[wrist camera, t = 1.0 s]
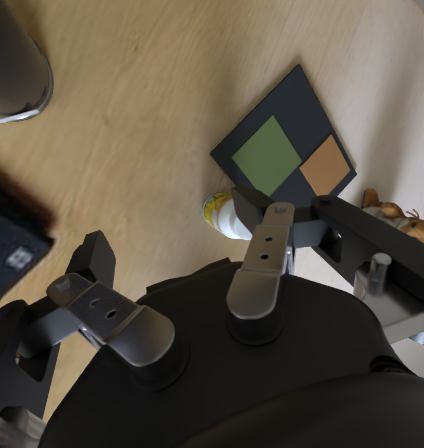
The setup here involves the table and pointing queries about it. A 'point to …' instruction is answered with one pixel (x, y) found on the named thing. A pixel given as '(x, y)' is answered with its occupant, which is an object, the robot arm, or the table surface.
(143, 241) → the table surface
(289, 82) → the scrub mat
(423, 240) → the stuffed squirrel
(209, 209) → the supplement bottle
